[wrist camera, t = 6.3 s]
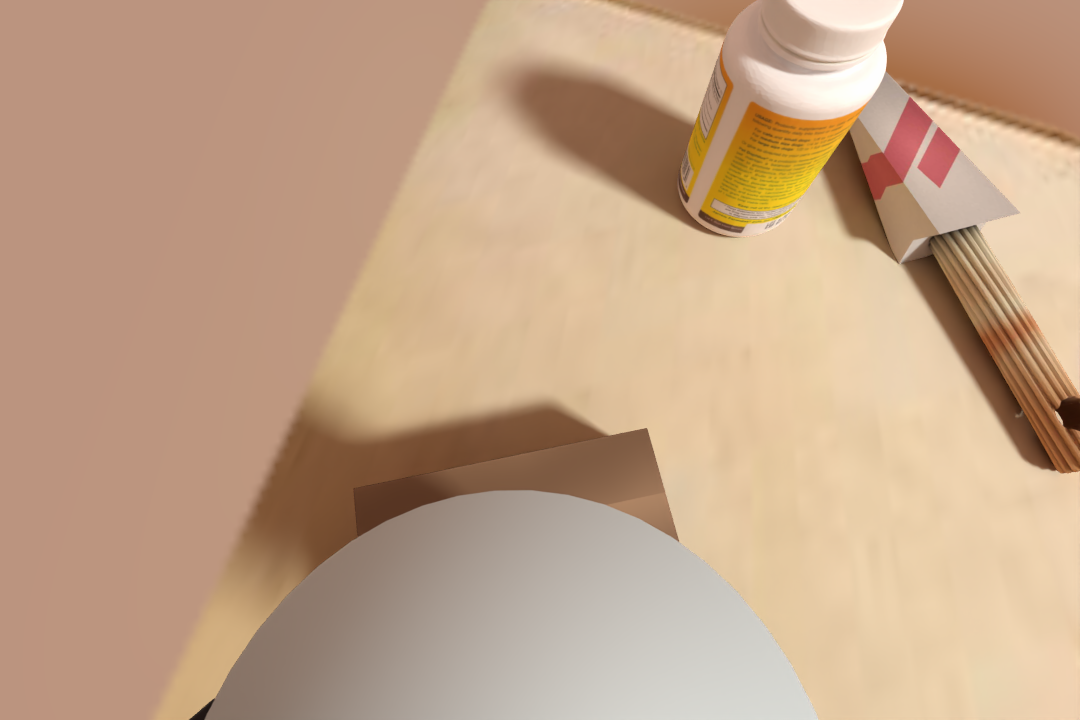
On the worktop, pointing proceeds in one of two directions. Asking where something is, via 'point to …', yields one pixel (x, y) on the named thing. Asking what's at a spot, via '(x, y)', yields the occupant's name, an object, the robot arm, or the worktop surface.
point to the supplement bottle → (780, 107)
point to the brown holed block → (538, 481)
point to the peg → (513, 625)
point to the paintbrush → (963, 253)
